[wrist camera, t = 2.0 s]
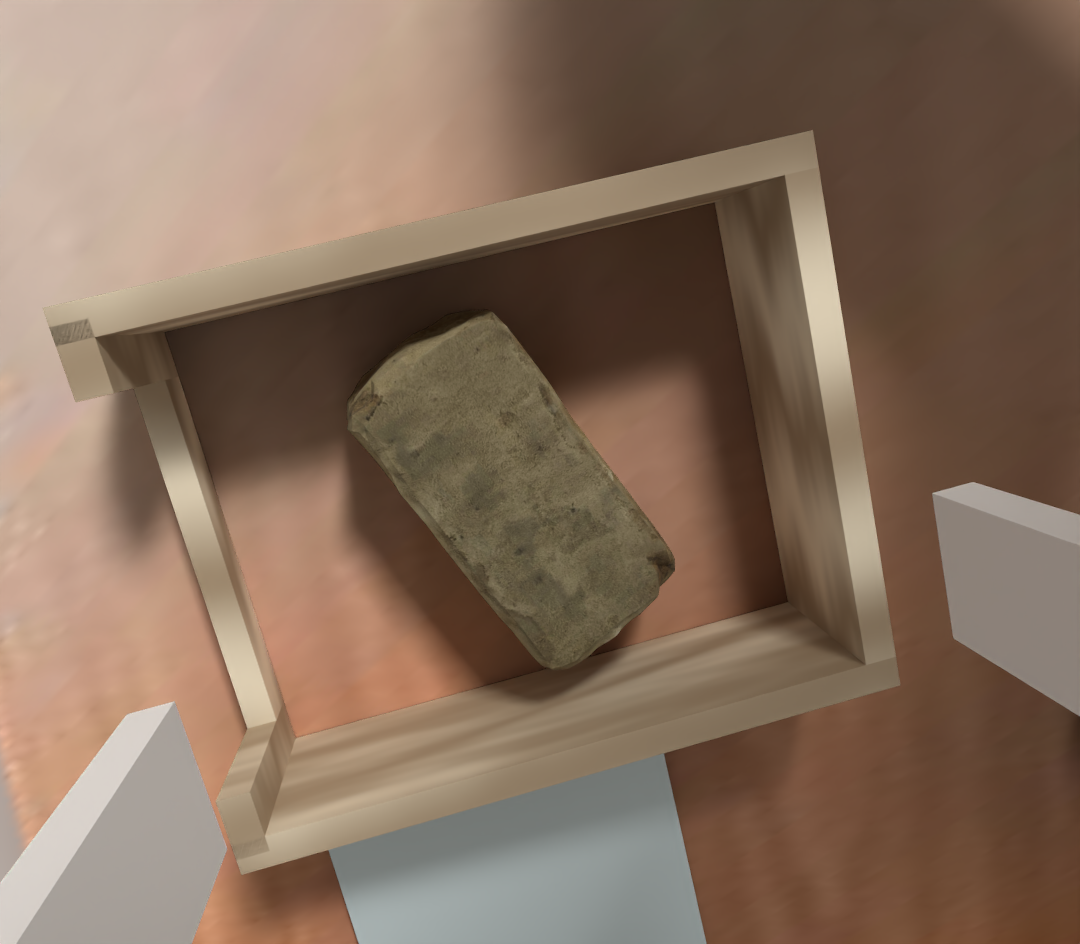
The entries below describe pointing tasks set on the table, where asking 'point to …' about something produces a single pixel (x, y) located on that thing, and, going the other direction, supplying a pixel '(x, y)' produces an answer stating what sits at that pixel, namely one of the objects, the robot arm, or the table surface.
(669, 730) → the slotted box
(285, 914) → the table surface
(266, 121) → the table surface
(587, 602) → the stone block
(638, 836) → the mat
